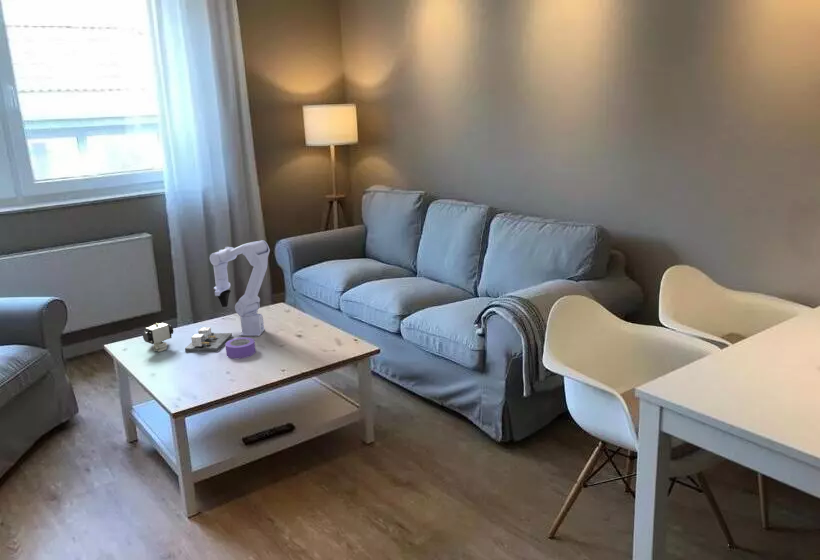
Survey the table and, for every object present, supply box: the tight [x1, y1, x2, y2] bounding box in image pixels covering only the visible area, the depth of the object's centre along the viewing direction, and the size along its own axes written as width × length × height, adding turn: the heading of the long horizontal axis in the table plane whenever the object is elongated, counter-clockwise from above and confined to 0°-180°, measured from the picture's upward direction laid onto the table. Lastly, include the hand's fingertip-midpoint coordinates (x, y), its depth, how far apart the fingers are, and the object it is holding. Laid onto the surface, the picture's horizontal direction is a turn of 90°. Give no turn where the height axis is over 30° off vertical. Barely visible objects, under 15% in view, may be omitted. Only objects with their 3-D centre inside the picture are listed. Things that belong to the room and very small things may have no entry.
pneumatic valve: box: [142, 322, 174, 353], centre depth 294 cm, size 6×12×12 cm, turn 140°
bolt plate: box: [184, 332, 233, 353], centre depth 299 cm, size 14×18×6 cm
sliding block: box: [197, 326, 216, 339], centre depth 300 cm, size 6×4×4 cm, turn 84°
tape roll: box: [224, 336, 256, 359], centre depth 287 cm, size 12×12×5 cm
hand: (224, 306), depth 316 cm, fingers closed
